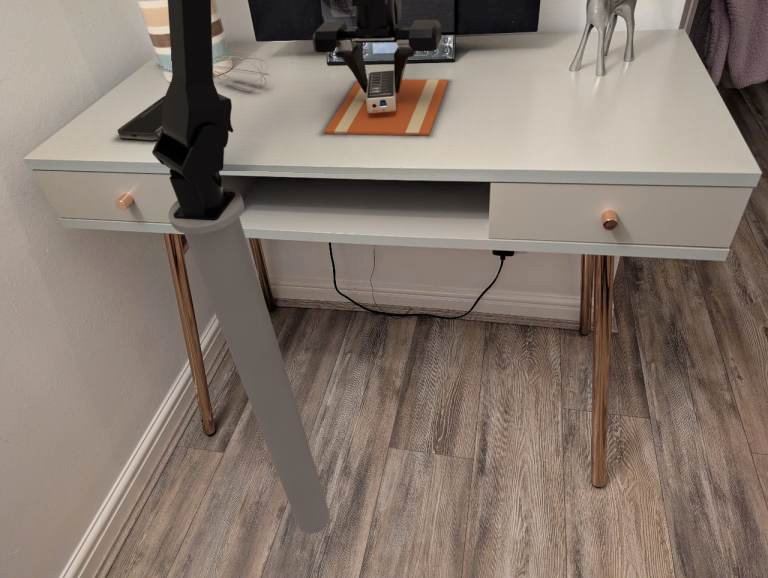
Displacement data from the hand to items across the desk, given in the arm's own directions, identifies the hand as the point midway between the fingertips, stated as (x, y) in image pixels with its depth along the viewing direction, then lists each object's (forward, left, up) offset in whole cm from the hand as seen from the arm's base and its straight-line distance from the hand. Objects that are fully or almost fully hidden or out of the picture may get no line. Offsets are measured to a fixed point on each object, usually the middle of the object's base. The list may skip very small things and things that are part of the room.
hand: (382, 92), depth 92 cm
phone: (-6, +37, -2) cm, 37 cm away
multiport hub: (0, 0, -1) cm, 1 cm away
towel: (0, -1, -2) cm, 3 cm away
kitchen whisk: (+12, +37, -3) cm, 39 cm away
